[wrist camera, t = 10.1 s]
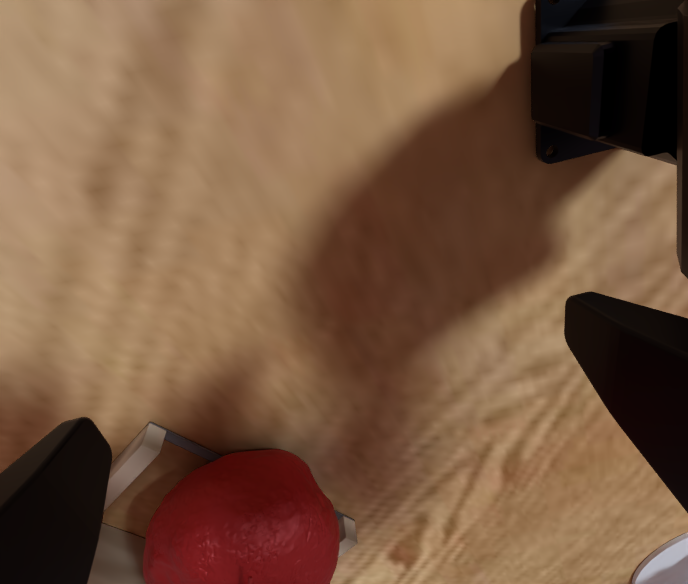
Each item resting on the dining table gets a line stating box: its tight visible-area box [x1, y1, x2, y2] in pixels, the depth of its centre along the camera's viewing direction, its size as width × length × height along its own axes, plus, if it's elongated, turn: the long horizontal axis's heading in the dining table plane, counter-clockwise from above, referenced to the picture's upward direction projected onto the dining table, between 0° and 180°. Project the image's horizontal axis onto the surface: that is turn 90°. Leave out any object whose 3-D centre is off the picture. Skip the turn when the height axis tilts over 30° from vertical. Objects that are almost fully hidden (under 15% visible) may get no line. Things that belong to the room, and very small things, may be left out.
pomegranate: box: [143, 449, 340, 584], centre depth 23 cm, size 10×10×9 cm
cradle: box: [87, 422, 358, 584], centre depth 27 cm, size 10×15×4 cm, turn 47°
